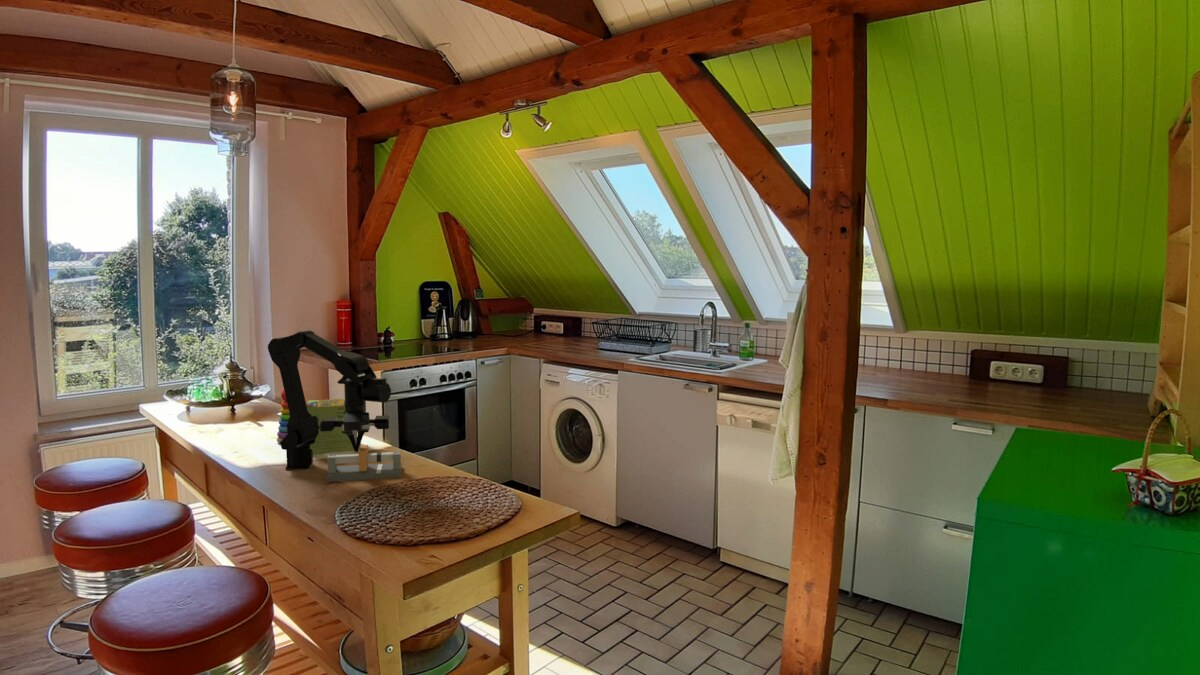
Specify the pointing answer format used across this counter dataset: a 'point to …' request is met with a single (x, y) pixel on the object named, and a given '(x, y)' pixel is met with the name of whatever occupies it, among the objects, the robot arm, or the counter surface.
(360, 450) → the collar
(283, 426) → the stacking toy
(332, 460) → the pipe rig
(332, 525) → the counter surface
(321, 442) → the protein box
